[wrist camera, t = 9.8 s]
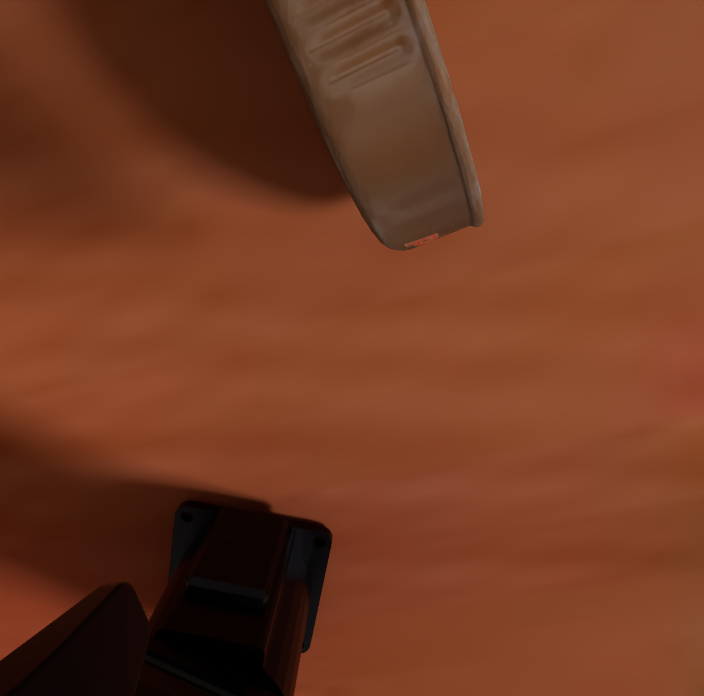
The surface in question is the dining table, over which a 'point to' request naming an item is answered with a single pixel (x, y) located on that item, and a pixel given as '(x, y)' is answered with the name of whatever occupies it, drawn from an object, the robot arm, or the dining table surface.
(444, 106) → the tin
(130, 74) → the dining table surface
